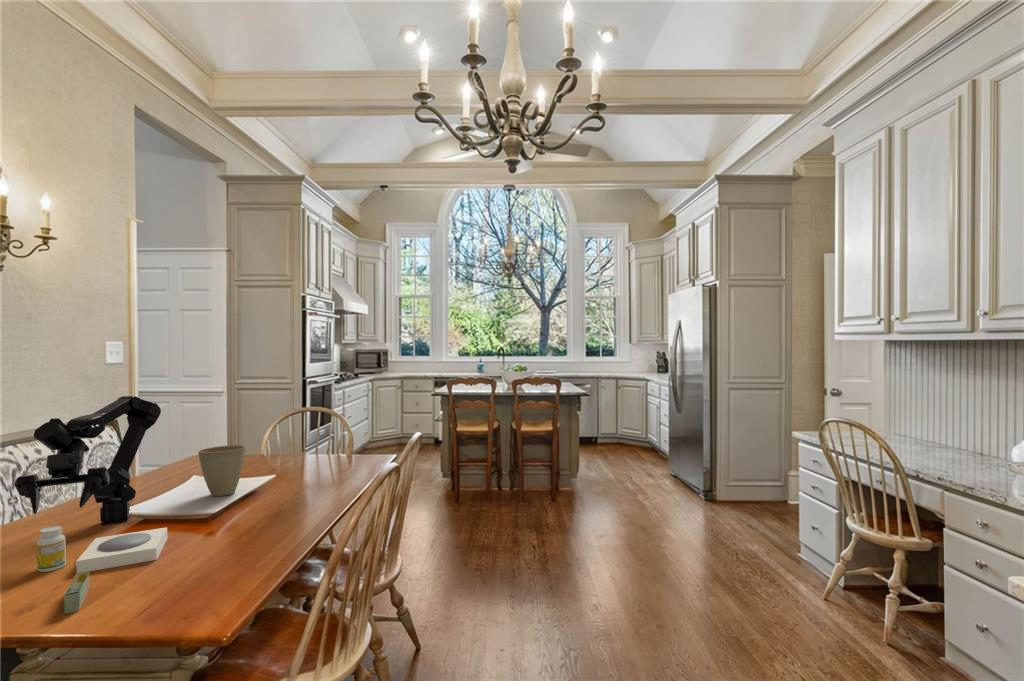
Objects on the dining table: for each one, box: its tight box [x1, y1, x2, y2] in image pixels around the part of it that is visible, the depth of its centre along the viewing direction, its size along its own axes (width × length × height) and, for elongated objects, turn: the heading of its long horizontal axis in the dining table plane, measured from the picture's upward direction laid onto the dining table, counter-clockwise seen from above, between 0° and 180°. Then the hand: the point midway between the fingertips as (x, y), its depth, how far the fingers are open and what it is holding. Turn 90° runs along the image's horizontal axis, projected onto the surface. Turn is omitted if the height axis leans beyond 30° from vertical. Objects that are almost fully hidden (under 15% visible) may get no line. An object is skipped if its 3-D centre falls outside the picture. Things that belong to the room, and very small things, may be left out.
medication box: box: [62, 571, 91, 615], centre depth 113 cm, size 12×3×4 cm, turn 31°
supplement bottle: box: [36, 525, 67, 573], centre depth 130 cm, size 5×5×10 cm
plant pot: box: [197, 444, 247, 497], centre depth 188 cm, size 15×15×16 cm
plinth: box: [75, 526, 169, 574], centre depth 137 cm, size 16×16×3 cm
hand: (57, 509), depth 135 cm, fingers open, 9 cm apart
